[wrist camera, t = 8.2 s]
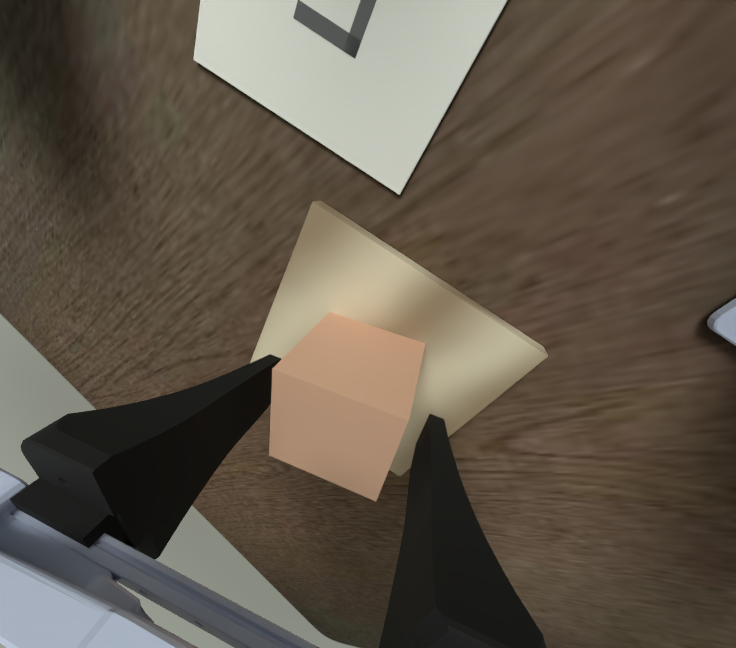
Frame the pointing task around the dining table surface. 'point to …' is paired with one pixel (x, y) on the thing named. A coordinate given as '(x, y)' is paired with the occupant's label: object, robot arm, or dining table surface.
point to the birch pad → (398, 321)
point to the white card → (350, 68)
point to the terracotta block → (344, 402)
